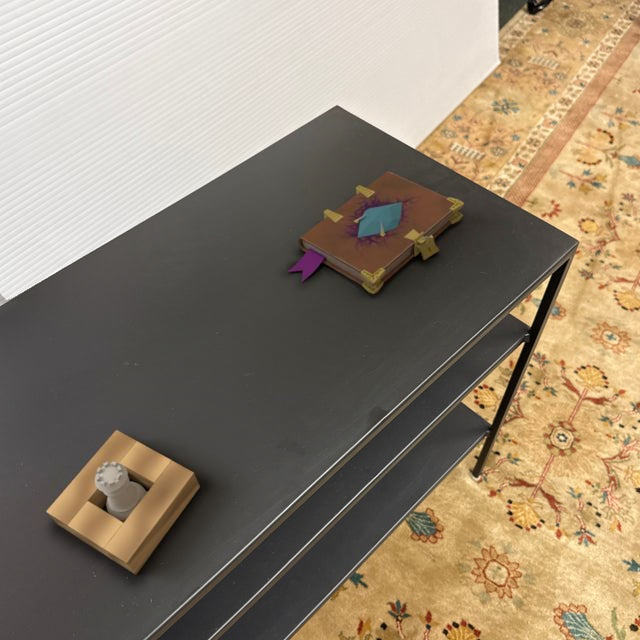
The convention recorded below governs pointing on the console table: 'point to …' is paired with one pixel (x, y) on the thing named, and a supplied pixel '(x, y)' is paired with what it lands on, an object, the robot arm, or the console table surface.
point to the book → (378, 231)
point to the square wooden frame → (146, 519)
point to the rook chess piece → (118, 490)
